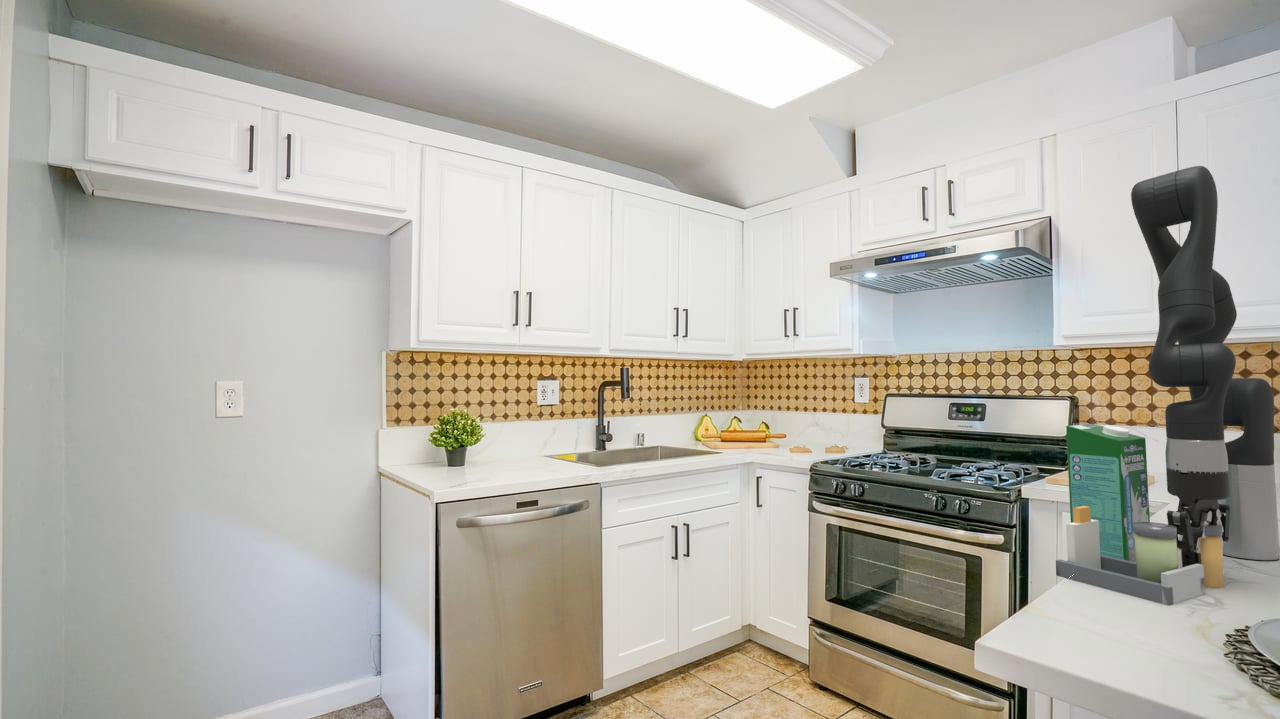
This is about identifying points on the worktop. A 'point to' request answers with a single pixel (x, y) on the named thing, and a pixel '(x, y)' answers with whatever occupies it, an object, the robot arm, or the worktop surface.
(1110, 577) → the grey tray
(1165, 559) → the green jar
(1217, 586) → the amber jar
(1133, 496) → the milk carton
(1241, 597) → the worktop surface
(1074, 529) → the block
